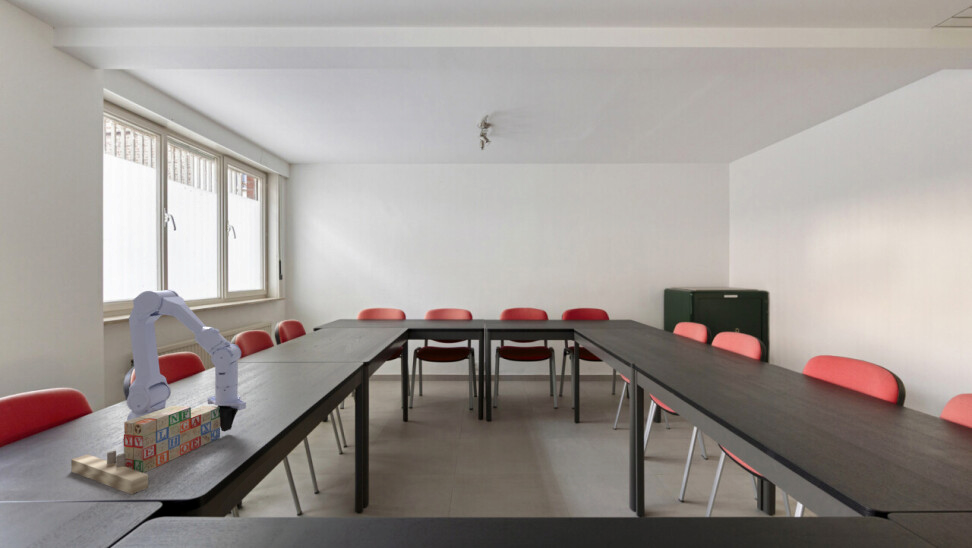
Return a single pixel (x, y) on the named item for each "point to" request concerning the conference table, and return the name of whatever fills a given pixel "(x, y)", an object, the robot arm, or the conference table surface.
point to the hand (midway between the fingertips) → (226, 430)
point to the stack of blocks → (168, 435)
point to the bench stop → (110, 472)
